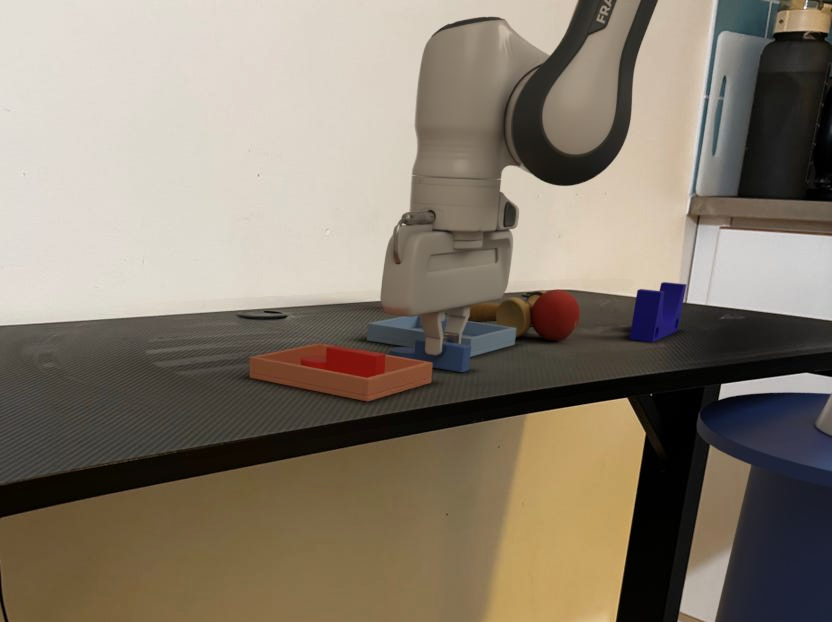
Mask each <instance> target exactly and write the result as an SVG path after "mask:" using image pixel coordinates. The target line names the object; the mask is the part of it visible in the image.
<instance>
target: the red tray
mask: <svg viewBox="0 0 832 622" xmlns="http://www.w3.org/2000/svg"><path fill="white" fill-rule="evenodd" d="M331 346H334V345H332V344H327V343H321V342H316V343H313V344H312V343H311V344H308V345H303V346H298V347H293V348H288V349H287V348H286V349H283V350H278V351H273V352H269V353H264V354H258V355H253V356H250V357H249V378H250V379H253V380H259V381H264V382H270V383H273V384H279V385H284V386H288V387H294V388H299V389H304V390H309V391H314V392H319V393H323V394H328V395H333V396H338V397H341V398H342V397H343V398H347V399H348V398H349V399H352V400H357V401H362V402H371V401H374V400H378V399H381V398H385V397H387V396H388V397H389V396H391V395H395V394H398V393H401V392H404V391H408V390H412V389H415V388H418V387H421V386H424V385H429V384H431V383H432V381H433V380H432V379H433V377H432V376H433V367H432V366H433V363H432V362H426V361H421V360H415V359H409V358H403V357H397V356H391V355H390V354H386V353H384V354H385V373H384V374H380V375H376V376H372V377H368V378H365V377H360V376H355V375H349V374H344V373H339V372H333V371H328V370H323V369H317V368H312V367H307V366H302V365H301V357H304V356H310V355H322V356H326V348H327V347H331Z"/></svg>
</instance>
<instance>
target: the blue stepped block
mask: <svg viewBox="0 0 832 622" xmlns="http://www.w3.org/2000/svg"><path fill="white" fill-rule="evenodd" d="M425 339H426V338H421V339H417V340H416V341H415V348H411V347H405V346H397V347H392V348H389V355H391V356H397V357H403V358H409V359H415V360H421V361H426V362H432V363H433V366H432V369H433V368H434V369H439V370H444V371H445V370H446V371H450V372H457V373H465V372H468V371H470V365H471V357H470V354H471V345H465V344H458V343H452V342H447V344H446V352H445V353H443V354H439V355H430V354H427V353H426V352H425Z"/></svg>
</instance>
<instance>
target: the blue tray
mask: <svg viewBox="0 0 832 622" xmlns="http://www.w3.org/2000/svg"><path fill="white" fill-rule="evenodd" d="M447 320H448V317H445V319H444V321H441V323H442V330H443V332H444V331H445V327H446V324H447ZM366 329H367V330H366V341H369V342H374V343H380V344H386V345H387V344H388V345H393V346H398V347H411V348H415V341H416V340H417V339H421V338H426V336H425V334H424V331H423V328H422V325H421V321H420V315H418V316H413V317H406V316H398V317H393V318H387V319H383V320H377V321H372V322H367V328H366ZM516 338H517V337H516V328H513V327H506V326H499V325H497V324H492V323H486V322H471V321H467V323H466V326H465V328H464V330H463V333H462V336H461V344H465V345H471V354H470V358H472V357H475V356H479V355H482V354H487V353H490V352H493V351H497V350H500V349H504V348H508V347H512V346H515V345H516Z"/></svg>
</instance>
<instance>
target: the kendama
mask: <svg viewBox="0 0 832 622" xmlns="http://www.w3.org/2000/svg"><path fill="white" fill-rule="evenodd" d="M580 309H581V308H580V305H579V302H578V301H577V299H576V298H575V297H574V296H573V295H572V294H571V293H570V292H567V291H566V290H562V289H552V290H548V291H547V290H543V289H542V290H541V289H540V290H535V291H532V292H531V293H530V294H529V295H528V296H527V298H526V299H525V300H523V299H521V298H519V297H517V296H512V297H509V298H506V299H504V300H502V301H501V302H500V303H496V302H485V303H480V304H475V305H470V315H469V318H468V321H471V322H478V323H490V322H491V323H492V322H496V325H499V326H506V327H513V328H516V337H515V338H518V337H522V336H524V335H525V334H526V333H528V331H529V329H531V328H533V330H534V331H535V333H536V334H537V335H538V336H539V337H541V338H542V339H543V340H547V341H551V342H552V341H553V342H555V341H556V342H557V341H563V340H567V338H569V337H570V336H571V335H572V334H573V332H575V330H576V328H577V327H578V325H579V322H580V316H581V310H580Z"/></svg>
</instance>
